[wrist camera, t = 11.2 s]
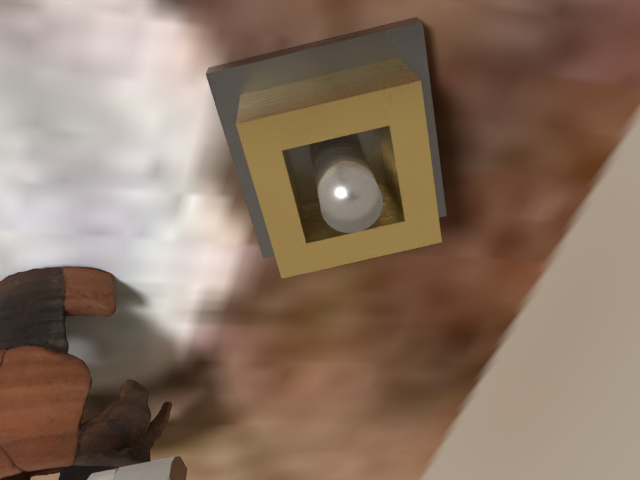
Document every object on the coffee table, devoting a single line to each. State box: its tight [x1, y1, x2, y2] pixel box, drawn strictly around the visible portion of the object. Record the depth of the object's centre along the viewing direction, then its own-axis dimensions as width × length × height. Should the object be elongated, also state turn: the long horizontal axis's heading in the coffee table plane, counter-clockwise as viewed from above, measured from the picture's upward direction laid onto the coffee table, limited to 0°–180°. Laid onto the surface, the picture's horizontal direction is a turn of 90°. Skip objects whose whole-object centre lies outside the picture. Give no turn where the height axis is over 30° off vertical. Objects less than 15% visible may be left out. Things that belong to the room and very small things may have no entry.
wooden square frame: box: [236, 58, 442, 278], centre depth 22 cm, size 6×6×4 cm
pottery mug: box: [0, 267, 172, 480], centre depth 26 cm, size 12×10×8 cm
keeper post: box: [206, 17, 447, 258], centre depth 21 cm, size 8×8×6 cm
